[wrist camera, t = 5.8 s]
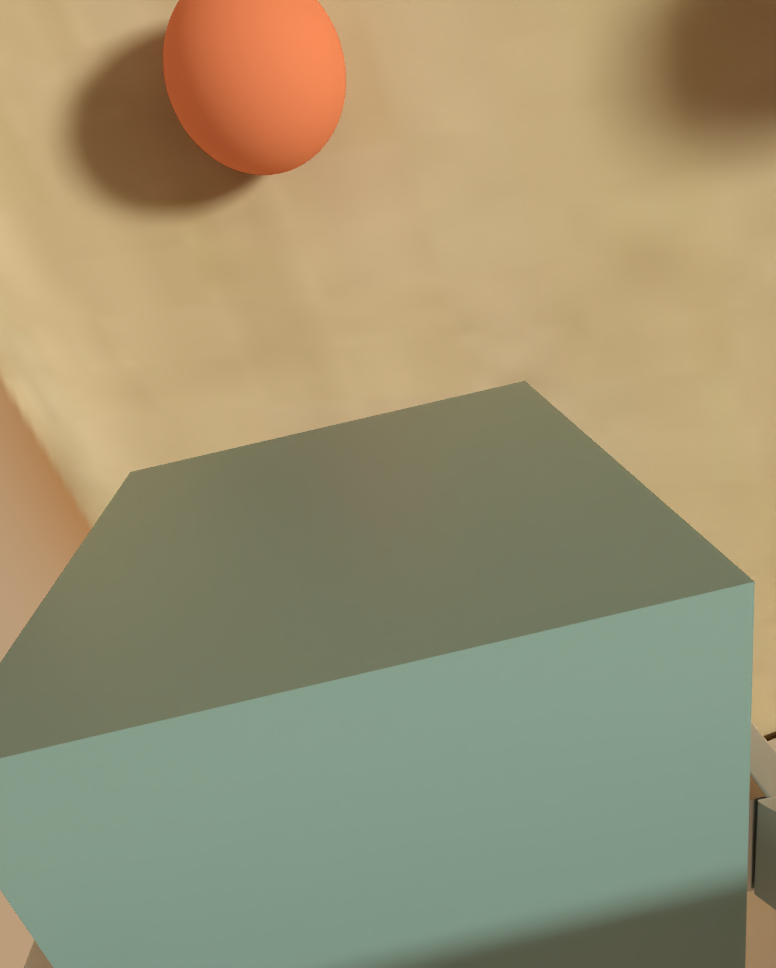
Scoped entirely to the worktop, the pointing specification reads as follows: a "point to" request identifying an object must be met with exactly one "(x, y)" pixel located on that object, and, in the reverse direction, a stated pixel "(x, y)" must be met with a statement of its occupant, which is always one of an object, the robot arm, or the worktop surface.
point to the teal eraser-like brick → (385, 711)
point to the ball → (255, 80)
